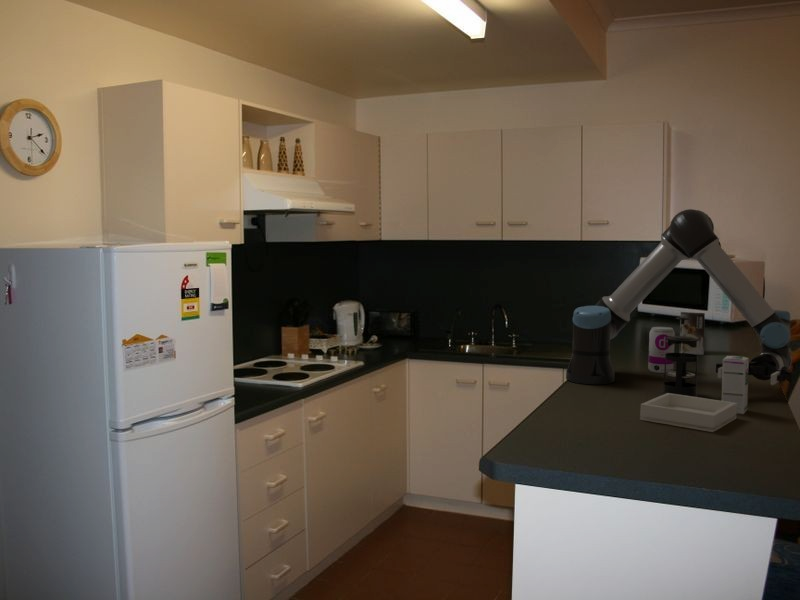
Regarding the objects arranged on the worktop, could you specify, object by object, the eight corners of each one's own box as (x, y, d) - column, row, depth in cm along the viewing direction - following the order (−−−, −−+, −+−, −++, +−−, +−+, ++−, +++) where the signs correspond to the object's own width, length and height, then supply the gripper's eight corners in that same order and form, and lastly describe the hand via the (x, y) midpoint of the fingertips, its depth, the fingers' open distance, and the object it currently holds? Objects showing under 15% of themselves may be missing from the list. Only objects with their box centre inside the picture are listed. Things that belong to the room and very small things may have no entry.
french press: (695, 400, 213) (698, 320, 211) (660, 397, 217) (663, 318, 215) (698, 393, 223) (702, 316, 221) (665, 389, 227) (668, 314, 225)
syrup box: (744, 414, 197) (747, 359, 196) (720, 411, 200) (722, 357, 199) (747, 410, 202) (750, 356, 200) (723, 407, 205) (726, 354, 204)
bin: (640, 419, 191) (640, 404, 191) (666, 407, 205) (667, 392, 204) (713, 432, 179) (713, 415, 179) (736, 418, 193) (737, 403, 193)
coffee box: (703, 352, 299) (705, 312, 298) (703, 355, 293) (705, 314, 292) (679, 351, 302) (680, 311, 301) (678, 353, 297) (680, 313, 295)
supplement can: (675, 374, 253) (676, 329, 252) (649, 372, 255) (651, 329, 254) (671, 369, 261) (673, 326, 260) (646, 368, 263) (648, 326, 262)
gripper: (812, 384, 214) (794, 396, 198) (721, 373, 230) (698, 383, 214) (814, 358, 213) (796, 368, 197) (722, 349, 229) (699, 357, 213)
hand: (745, 376), depth 205 cm, fingers open, 13 cm apart
